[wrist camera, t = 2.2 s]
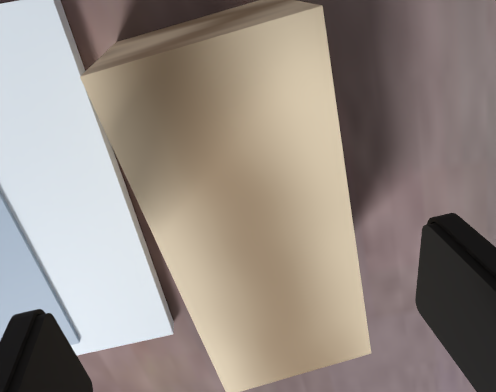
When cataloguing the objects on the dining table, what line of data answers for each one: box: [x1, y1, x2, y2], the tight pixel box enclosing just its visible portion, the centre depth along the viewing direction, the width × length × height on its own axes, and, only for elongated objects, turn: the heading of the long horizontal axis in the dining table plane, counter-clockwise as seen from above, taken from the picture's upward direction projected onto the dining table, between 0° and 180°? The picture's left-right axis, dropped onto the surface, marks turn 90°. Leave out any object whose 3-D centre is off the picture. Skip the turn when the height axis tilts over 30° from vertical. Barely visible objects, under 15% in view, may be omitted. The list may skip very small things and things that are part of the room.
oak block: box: [80, 0, 371, 392], centre depth 15 cm, size 6×13×6 cm, turn 14°
